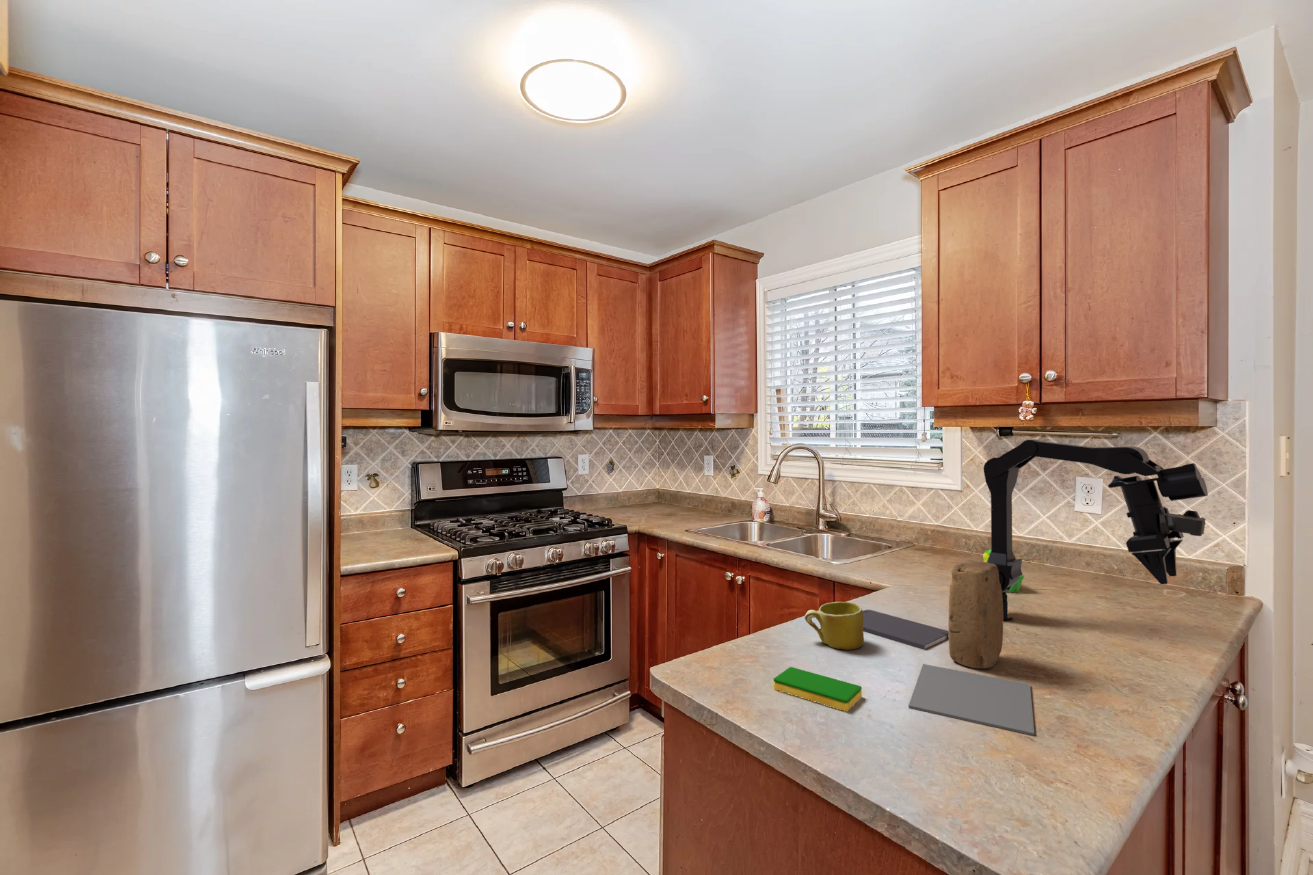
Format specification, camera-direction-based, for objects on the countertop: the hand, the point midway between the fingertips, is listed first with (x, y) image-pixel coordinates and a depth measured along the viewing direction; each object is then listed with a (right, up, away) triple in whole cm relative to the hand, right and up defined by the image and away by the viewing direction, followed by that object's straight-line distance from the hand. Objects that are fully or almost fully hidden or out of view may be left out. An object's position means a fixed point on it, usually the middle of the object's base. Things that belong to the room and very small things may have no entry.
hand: (1168, 579), depth 122 cm
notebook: (-50, -16, +17) cm, 55 cm away
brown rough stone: (-41, -16, -2) cm, 44 cm away
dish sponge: (-77, -17, -15) cm, 80 cm away
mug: (-66, -16, +8) cm, 69 cm away
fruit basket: (-5, -15, +51) cm, 54 cm away
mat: (-50, -16, -17) cm, 55 cm away
